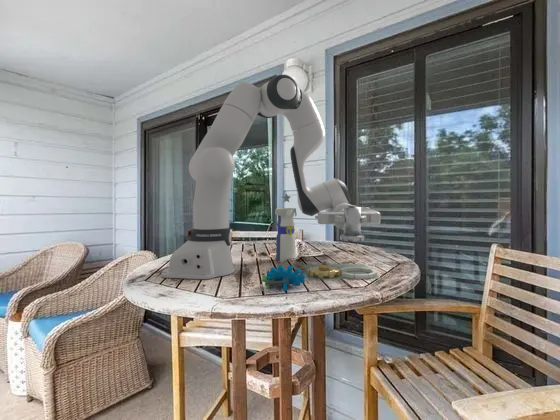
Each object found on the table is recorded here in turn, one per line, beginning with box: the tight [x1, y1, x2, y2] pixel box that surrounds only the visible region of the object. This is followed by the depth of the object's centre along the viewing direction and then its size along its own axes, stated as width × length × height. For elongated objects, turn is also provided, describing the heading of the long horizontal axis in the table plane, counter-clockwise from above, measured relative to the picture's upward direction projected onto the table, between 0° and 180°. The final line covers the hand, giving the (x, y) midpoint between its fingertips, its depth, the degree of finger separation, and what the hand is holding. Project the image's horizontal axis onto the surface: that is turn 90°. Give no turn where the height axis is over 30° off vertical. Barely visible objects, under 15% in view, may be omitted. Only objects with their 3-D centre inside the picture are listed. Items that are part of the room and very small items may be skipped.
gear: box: [261, 264, 307, 292], centre depth 82 cm, size 11×6×10 cm
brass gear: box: [306, 261, 341, 280], centre depth 96 cm, size 10×10×4 cm
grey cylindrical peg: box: [339, 205, 365, 243], centre depth 102 cm, size 7×7×11 cm
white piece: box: [274, 193, 298, 262], centre depth 124 cm, size 8×9×25 cm
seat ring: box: [341, 267, 378, 280], centre depth 96 cm, size 10×10×1 cm
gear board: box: [303, 263, 382, 280], centre depth 100 cm, size 20×19×1 cm
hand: (353, 219), depth 101 cm, fingers closed on grey cylindrical peg, 5 cm apart
